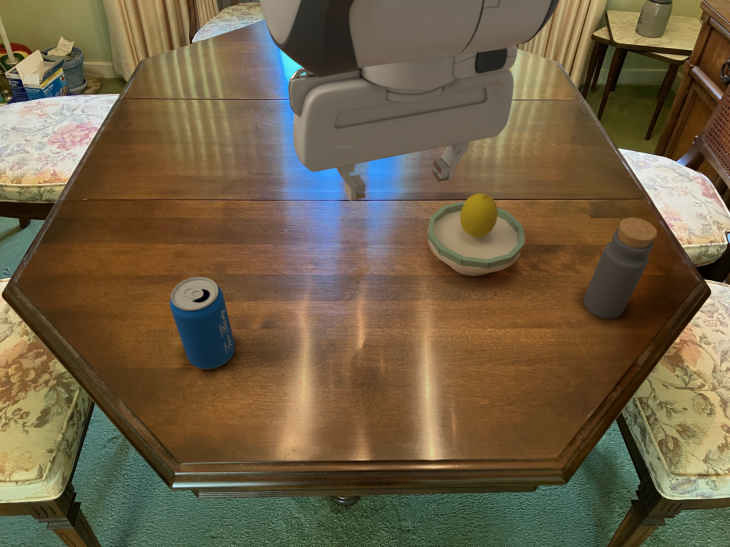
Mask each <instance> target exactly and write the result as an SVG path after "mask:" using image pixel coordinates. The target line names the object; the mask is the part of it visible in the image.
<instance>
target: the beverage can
mask: <svg viewBox="0 0 730 547" xmlns="http://www.w3.org/2000/svg"><path fill="white" fill-rule="evenodd" d="M169 308H170V311H171V314H172V317H173V320H174V323H175V327H176V329H177V332H178V334H179V337H180V341H181V344H182V347H183V349H184V352H185V355H186V358H187V361H188V362H189V363H190V364H191V365H192V366H194V367H196V368H197V369H201V370H211V369H215V368H218V367H221V366H223V365H224V364H226V363H227V362H228V361H230V359H231V358H232V357H233V356H234V354H235V349H236V342H235V340H234V334H233V330H232V326H231V322H230V318H229V313H228V309H227V305H226V301H225V296H224V293H223V291H222V289H221V287H219V285H217V283H216V282H215V280H212V279H211V278H209V277H205V276H193V277H189V278H186V279H184V280H182V281H180V282H178V283H177V284H176V285H175V286H174V288H173V289H172V291H171V294H170V300H169Z"/></svg>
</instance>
